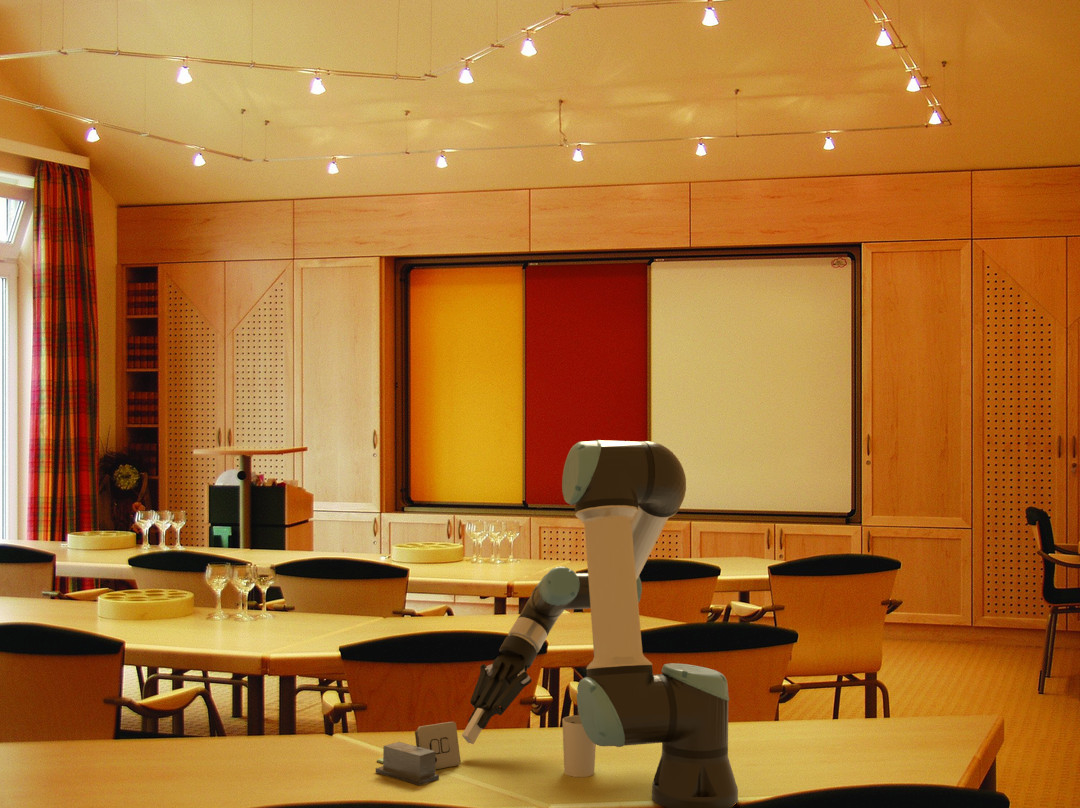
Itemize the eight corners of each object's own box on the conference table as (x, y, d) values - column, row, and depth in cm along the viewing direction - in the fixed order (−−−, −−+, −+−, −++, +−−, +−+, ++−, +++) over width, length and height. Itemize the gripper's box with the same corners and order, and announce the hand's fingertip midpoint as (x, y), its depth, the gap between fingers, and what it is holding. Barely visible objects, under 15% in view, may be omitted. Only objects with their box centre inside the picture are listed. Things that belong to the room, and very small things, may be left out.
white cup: (567, 778, 203) (568, 724, 203) (557, 768, 209) (558, 716, 210) (601, 776, 205) (601, 722, 205) (590, 766, 211) (590, 714, 211)
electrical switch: (423, 772, 206) (422, 728, 207) (412, 769, 210) (411, 725, 211) (461, 766, 211) (460, 722, 212) (449, 762, 214) (448, 719, 215)
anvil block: (438, 779, 202) (439, 752, 202) (419, 785, 198) (419, 758, 198) (395, 766, 209) (395, 740, 210) (375, 772, 206) (376, 746, 206)
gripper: (554, 659, 228) (500, 756, 214) (507, 651, 236) (453, 744, 222) (538, 637, 224) (482, 734, 210) (491, 630, 232) (435, 723, 218)
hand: (467, 739), depth 216 cm, fingers closed
